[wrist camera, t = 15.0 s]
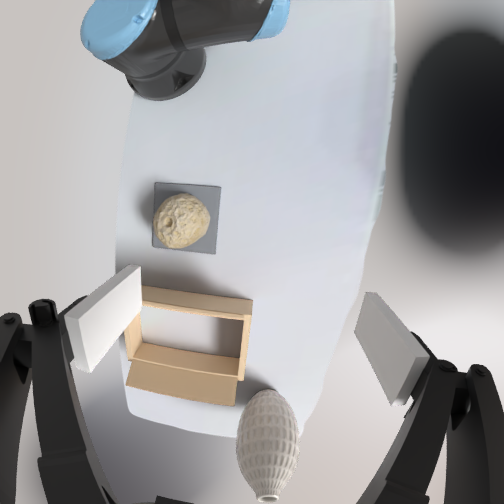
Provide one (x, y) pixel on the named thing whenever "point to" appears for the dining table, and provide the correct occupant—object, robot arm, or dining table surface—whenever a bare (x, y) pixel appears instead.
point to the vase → (267, 444)
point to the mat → (208, 198)
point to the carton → (186, 362)
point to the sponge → (181, 221)
